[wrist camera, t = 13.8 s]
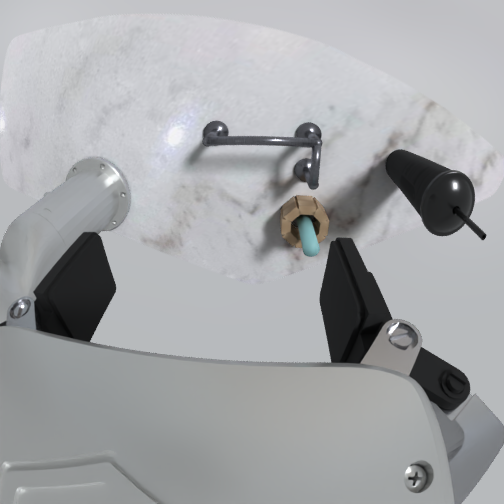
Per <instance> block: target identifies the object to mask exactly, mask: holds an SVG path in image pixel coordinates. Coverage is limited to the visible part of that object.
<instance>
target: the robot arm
mask: <svg viewBox="0 0 504 504" xmlns="http://www.w3.org/2000/svg"><path fill="white" fill-rule="evenodd" d="M129 208H130V190H129V187H128V184H127V181H126V179H125V177H124V176H123V174H122V173H121V172H120V170H119V169H118V168H117V167H116V166H115V165H114V164H112V163H111V162H109V161H108V160H105V159H103V158H99V157H88V158H85V159H82V160H81V161H79V162H77V163H76V164H75V165H74V166H73V167H72V168H71V169H70V171H69V173H68V175H67V178H66V181H65V182H64V183H62V184H61V185H60V186H58V187H57V188H55V189H54V190H53V191H51V192H46V193H45V194H44V197H43V198H42V199H40V200H39V201H38V202H36V203H35V204H34V205H33V206H31V207H30V208H29V209H27V210H26V211H25V212H24V213H22V214H21V215H20V216H18V217H17V218H16V219H15V220H14V221H13V222H12V223H11V225H10V226H9V227H8V229H7V231H6V233H5V235H4V237H3V240H2V243H1V248H0V504H461V503H462V502H463V501H464V500H465V498H466V497H467V496H468V495H469V493H470V492H471V491H472V490H473V488H474V487H475V486H476V485H477V483H478V482H479V480H480V479H481V478H482V476H483V475H484V474H485V472H486V471H487V469H488V468H489V466H490V465H491V463H492V462H493V460H494V459H495V457H496V456H497V454H498V453H499V451H500V449H501V448H502V446H503V444H504V426H503V424H502V423H501V422H500V420H499V419H498V418H497V417H496V416H495V415H494V414H493V413H492V411H491V410H490V409H489V408H488V407H487V406H486V405H485V404H484V402H483V401H482V400H481V399H480V398H479V397H478V396H477V395H476V394H474V395H473V396H472V395H471V394H470V383H469V381H468V378H467V377H466V376H465V374H464V373H463V372H461V371H460V370H459V369H457V368H455V367H454V366H452V365H450V364H449V363H447V362H445V361H444V360H442V359H440V358H439V357H437V356H435V355H434V354H432V353H430V352H429V351H427V350H425V349H424V348H422V347H421V345H422V336H421V334H420V332H419V330H418V329H417V328H416V327H415V326H414V325H413V324H411V323H410V322H407V321H405V320H400V319H394V320H393V319H392V317H391V314H390V312H389V310H388V307H387V305H386V303H385V300H384V298H383V296H382V294H381V291H380V289H379V287H378V285H377V283H376V280H375V278H374V276H373V274H372V273H371V272H368V271H367V269H366V267H365V265H364V262H363V260H362V258H361V256H360V254H359V252H358V250H357V248H356V246H355V244H354V242H353V240H352V238H336V240H335V241H332V242H331V244H330V249H329V254H328V259H327V264H326V269H325V274H324V279H323V283H322V288H321V292H320V306H321V311H322V315H323V320H324V325H325V330H326V335H327V341H328V346H329V351H330V356H331V362H332V363H321V362H320V363H286V362H285V363H284V362H248V361H230V360H216V359H203V358H192V357H182V356H173V355H165V354H157V353H150V352H142V351H135V350H129V349H123V348H117V347H112V346H106V345H101V344H96V343H91V342H90V340H91V338H92V336H93V334H94V332H95V330H96V328H97V326H98V324H99V322H100V320H101V318H102V316H103V314H104V312H105V311H106V309H107V307H108V305H109V303H110V301H111V299H112V297H113V296H114V294H115V292H116V284H115V281H114V278H113V275H112V272H111V269H110V266H109V263H108V260H107V256H106V253H105V250H104V246H103V243H102V240H101V237H100V236H99V235H98V234H99V233H100V232H101V231H108V230H111V229H114V228H115V227H117V226H119V224H120V223H121V222H122V221H123V220H124V219H125V217H126V216H127V214H128V211H129Z"/></svg>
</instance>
